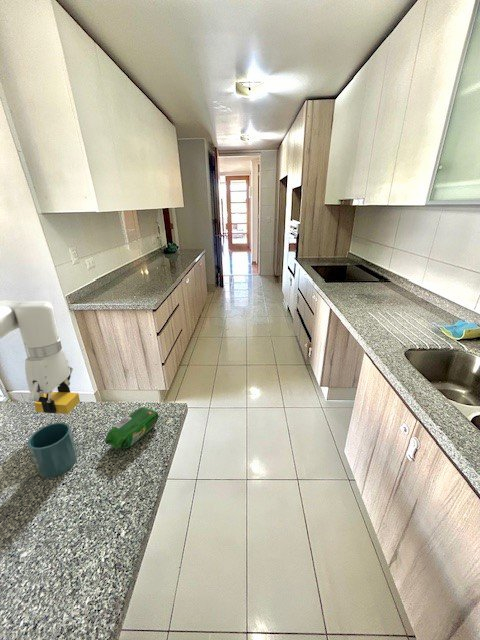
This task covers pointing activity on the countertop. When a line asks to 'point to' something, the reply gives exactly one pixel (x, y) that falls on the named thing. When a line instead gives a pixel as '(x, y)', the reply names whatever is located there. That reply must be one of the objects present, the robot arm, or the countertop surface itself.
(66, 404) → the yellow flat block
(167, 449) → the countertop surface
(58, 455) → the cup
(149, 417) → the snack package
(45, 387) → the robot arm
